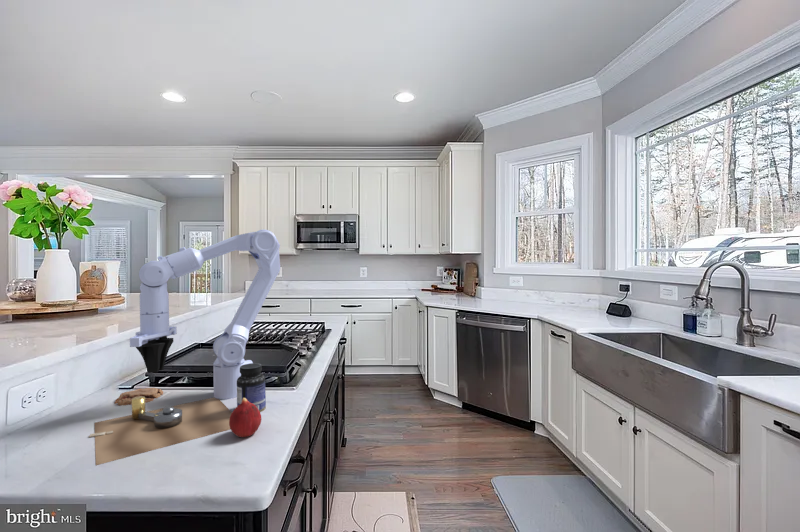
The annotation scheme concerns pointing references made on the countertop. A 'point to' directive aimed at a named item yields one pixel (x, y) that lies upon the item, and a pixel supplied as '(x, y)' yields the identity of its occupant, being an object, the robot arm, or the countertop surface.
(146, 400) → the cookie
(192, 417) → the brown cutting board
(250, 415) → the red rounded piece
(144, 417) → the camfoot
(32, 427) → the countertop surface
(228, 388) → the robot arm
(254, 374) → the pill bottle
